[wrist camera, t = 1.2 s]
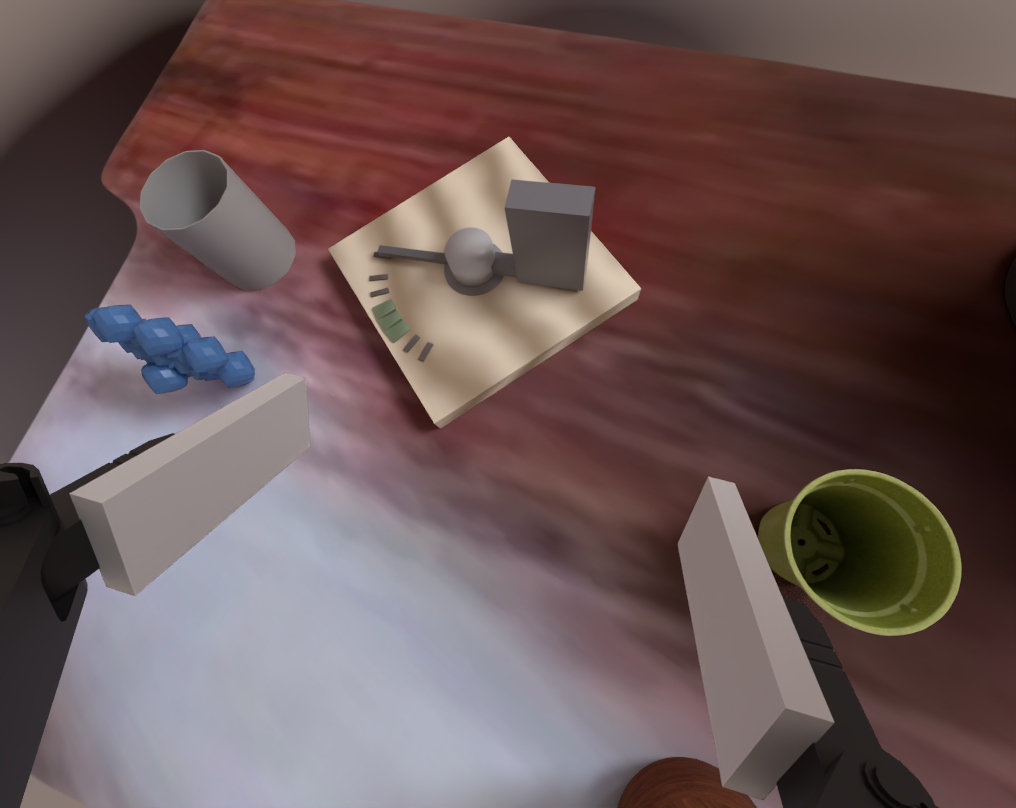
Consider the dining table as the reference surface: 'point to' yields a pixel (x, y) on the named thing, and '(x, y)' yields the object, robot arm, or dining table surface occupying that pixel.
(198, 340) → the grapes
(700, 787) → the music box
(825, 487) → the plant pot
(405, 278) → the dial plate
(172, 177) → the cup
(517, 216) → the lever dial gauge
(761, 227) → the dining table surface
